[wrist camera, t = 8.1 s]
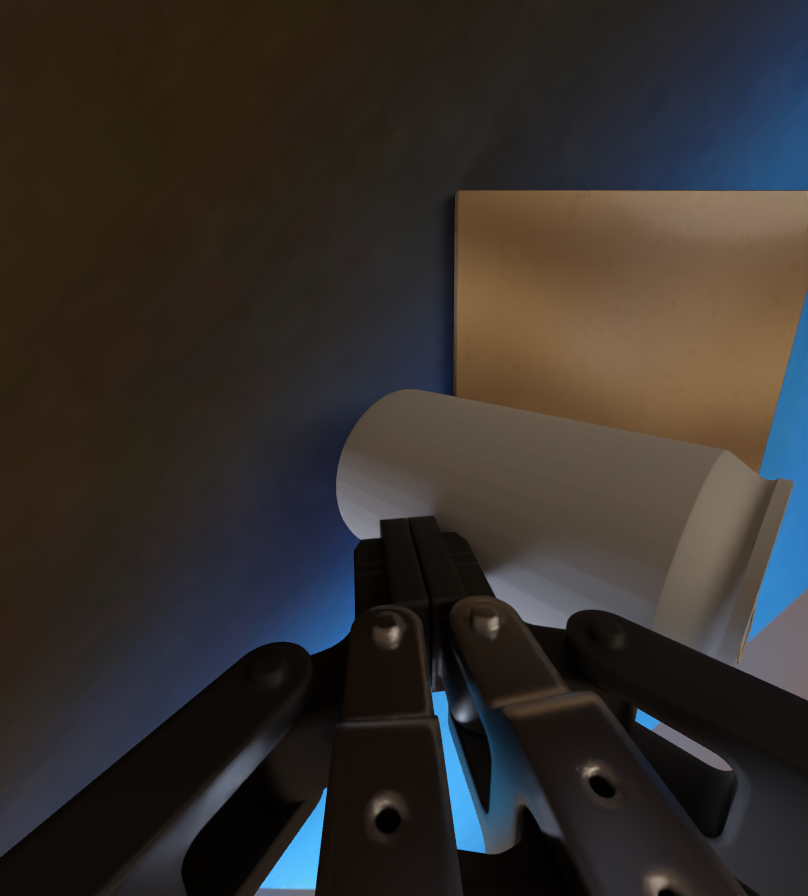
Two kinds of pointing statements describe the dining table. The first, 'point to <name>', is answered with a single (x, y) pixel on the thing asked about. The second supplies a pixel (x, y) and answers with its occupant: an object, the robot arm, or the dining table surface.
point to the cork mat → (632, 307)
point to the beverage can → (573, 513)
